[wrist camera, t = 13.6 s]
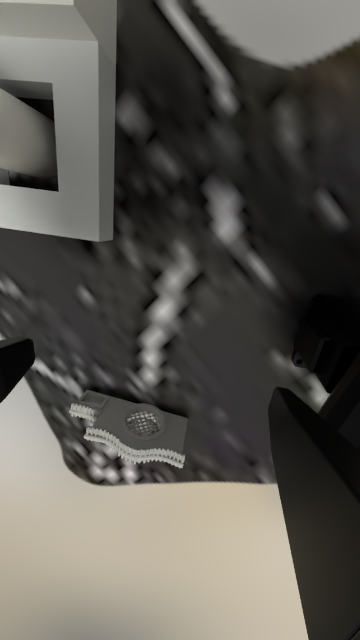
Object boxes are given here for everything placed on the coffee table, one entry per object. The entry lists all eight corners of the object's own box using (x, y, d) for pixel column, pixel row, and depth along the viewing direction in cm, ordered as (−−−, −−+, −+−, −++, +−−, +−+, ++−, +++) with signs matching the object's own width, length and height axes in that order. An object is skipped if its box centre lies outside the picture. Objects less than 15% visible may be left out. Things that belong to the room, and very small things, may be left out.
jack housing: (120, -224, 12) (58, -500, 7) (112, 239, 20) (81, 244, 16) (-90, -211, 13) (-254, -441, 9) (-16, 221, 22) (-81, 220, 17)
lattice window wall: (84, 397, 27) (50, 440, 22) (85, 385, 27) (50, 426, 21) (188, 427, 26) (179, 480, 21) (192, 415, 26) (183, 466, 20)
